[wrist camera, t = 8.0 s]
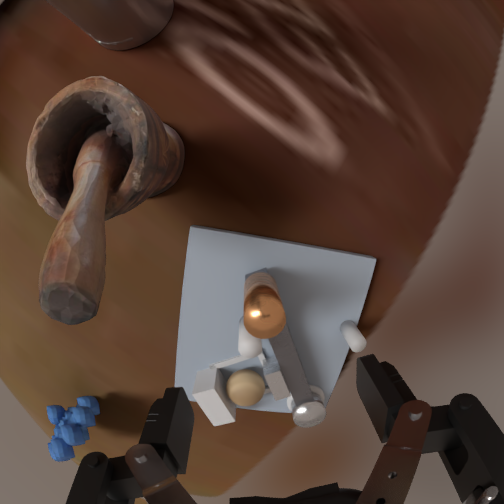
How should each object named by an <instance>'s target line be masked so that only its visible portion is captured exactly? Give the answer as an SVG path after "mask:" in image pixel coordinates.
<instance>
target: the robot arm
mask: <svg viewBox="0 0 504 504" xmlns="http://www.w3.org/2000/svg"><path fill="white" fill-rule="evenodd" d="M46 1H47V2H48V3H50V4H51V5H52V6H54V7H55V8H56V9H57V10H59V11H60V12H61V13H62V14H64V15H65V16H66V17H67V18H69V19H70V20H71V21H72V22H74V23H75V24H76V25H77V26H78V27H80V28H81V29H82V30H83V31H85V32H86V33H87V34H88V35H89V36H91V37H92V38H93V39H94V40H95V41H97V42H98V43H99V44H100V45H102V46H103V47H105V48H107V49H111V50H126V49H131V48H134V47H137V46H139V45H141V44H144V43H146V42H147V41H149V40H150V39H152V38H153V37H155V36H156V35H157V34H158V33H159V32H161V31H162V29H163V28H164V27H165V26H166V25H167V23H168V21H169V20H170V18H171V16H172V13H173V7H174V3H173V0H46ZM356 383H357V390H358V393H359V396H360V398H361V400H362V402H363V404H364V406H365V408H366V411H367V413H368V415H369V417H370V419H371V421H372V423H373V425H374V427H375V430H376V432H377V434H378V436H379V438H380V441H381V443H385V442H387V444H386V445H384V447H383V449H382V451H381V453H380V455H379V458H378V460H377V462H376V464H375V467H374V469H373V471H372V473H371V475H370V477H369V479H368V481H367V483H366V485H365V487H364V489H363V491H360V490H356V489H347V488H339V487H338V484H337V483H332V484H328V485H324V486H319V487H314V488H310V489H308V490H305V491H303V492H300V493H298V494H295V495H292V496H290V497H287V498H270V497H259V496H254V497H241V498H230V504H403V503H404V501H405V498H406V496H407V494H408V491H409V488H410V486H411V483H412V480H413V478H414V475H415V472H416V469H417V466H418V463H419V460H420V457H421V454H424V453H432V452H438V453H439V455H440V457H441V459H442V461H443V463H444V465H445V467H446V470H447V471H448V474H449V476H450V478H451V480H452V482H453V484H454V486H455V489H456V491H457V493H458V495H459V497H460V500H461V502H462V504H504V434H503V433H502V431H501V430H500V428H499V427H498V426H497V424H496V423H495V421H494V420H493V419H492V417H491V416H490V414H489V413H488V412H487V410H486V409H485V408H484V406H483V405H482V404H481V402H480V401H479V400H478V399H477V398H476V397H475V396H473V395H472V394H467V393H463V394H459V395H457V396H455V397H454V398H453V399H452V400H451V402H450V405H443V406H436V407H431V406H430V405H429V404H428V403H426V402H424V401H421V400H417V399H416V397H415V396H414V395H413V393H412V392H411V390H410V389H409V387H408V386H407V384H406V383H405V381H404V380H402V377H401V376H400V375H399V373H398V371H397V370H396V369H395V367H394V366H393V365H391V364H389V363H387V362H386V361H385V362H381V363H379V362H378V360H377V359H376V357H375V355H374V354H370V355H367V356H363V357H360V358H358V359H357V381H356ZM193 425H194V413H193V409H192V407H191V404H190V402H189V400H188V397H187V395H186V392H185V390H184V388H183V387H172V388H166V390H165V393H164V396H163V398H162V399H157V400H156V401H155V402H154V403H153V405H152V406H151V408H150V411H149V415H148V417H147V422H146V423H145V426H144V429H143V432H142V435H141V438H140V441H139V444H137V445H134V446H132V447H131V448H130V449H129V450H128V451H127V452H126V455H125V456H120V457H115V458H109V459H108V458H107V456H106V455H105V454H104V453H101V452H92V453H89V454H87V455H86V456H85V457H84V458H83V459H82V461H81V463H80V466H79V468H78V471H77V474H76V476H75V479H74V482H73V484H72V487H71V490H70V493H69V496H68V499H67V502H66V504H134V502H135V498H139V497H144V498H145V499H146V501H147V502H148V504H197V503H196V502H195V501H194V500H193V498H192V497H191V496H190V495H189V494H188V492H187V491H186V490H185V489H184V487H183V486H182V485H181V484H180V482H179V481H178V480H177V478H176V477H177V474H186V467H187V461H188V455H189V449H190V443H191V437H192V431H193Z"/></svg>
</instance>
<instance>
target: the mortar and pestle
mask: <svg viewBox="0 0 504 504" xmlns="http://www.w3.org/2000/svg"><path fill="white" fill-rule="evenodd" d="M184 158H185V150H184V145H183V142H182V140H181V138H180V136H179V135H178V133H177V132H176V131H175V130H174V129H172V128H171V127H170V126H168V125H167V124H165V123H163V122H162V121H161V119H160V118H159V116H158V115H157V114H156V113H155V111H154V110H153V109H152V108H151V107H150V106H149V105H148V104H147V103H145V102H144V101H143V100H142V99H140V98H139V97H138V96H136V95H135V94H133V93H132V92H131V91H130V90H129V89H127V88H126V87H124V86H122V85H120V84H119V83H117V82H114V81H112V80H110V79H107V78H105V77H103V76H92V77H88V78H86V79H84V80H79V81H77V82H75V83H73V84H71V85H68V86H67V87H65V88H64V89H62V90H61V91H60V92H58V93H57V94H56V95H55V96H54V97H53V98H52V99H51V100H50V101H49V102H48V103H47V104H46V106H45V109H44V111H43V112H42V113H41V115H40V116H39V117H38V118H37V121H36V123H35V125H34V128H33V131H32V134H31V137H30V139H29V143H28V148H27V161H26V168H27V173H28V179H29V185H30V188H31V190H32V193H33V195H34V196H35V198H36V199H37V202H38V204H39V205H40V206H41V207H43V208H44V210H45V212H46V213H47V214H48V215H50V216H52V217H53V218H55V219H57V220H59V222H58V224H57V226H56V228H55V230H54V232H53V234H52V236H51V238H50V241H49V243H48V246H47V249H46V252H45V255H44V258H43V261H42V264H41V267H40V274H39V283H38V284H39V302H40V306H41V309H42V310H43V311H44V312H45V313H46V314H47V315H48V316H49V317H51V318H52V319H55V320H57V321H60V322H63V323H65V324H68V325H73V324H79V323H82V322H85V321H87V320H90V319H91V318H93V317H94V316H96V314H97V311H98V308H99V303H100V299H101V295H102V291H103V287H104V283H105V265H106V253H105V248H106V238H105V221H106V220H109V219H111V218H113V217H115V216H117V215H120V214H123V213H126V212H128V211H130V210H132V209H133V208H135V207H136V206H138V205H139V204H141V203H142V202H144V201H145V200H146V199H147V198H149V197H153V196H156V195H158V194H160V193H163V192H164V191H166V190H168V189H169V188H170V187H171V186H172V185H174V184H175V183H176V181H177V180H178V178H179V176H180V174H181V172H182V169H183V165H184Z"/></svg>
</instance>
